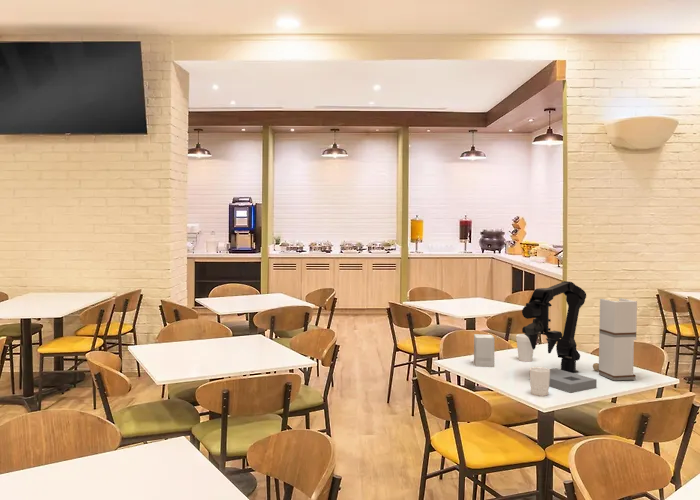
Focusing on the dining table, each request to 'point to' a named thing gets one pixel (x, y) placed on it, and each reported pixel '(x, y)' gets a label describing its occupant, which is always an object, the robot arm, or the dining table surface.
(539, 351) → the dining table surface
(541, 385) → the white cup
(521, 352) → the foam cup
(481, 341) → the supplement box
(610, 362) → the grey striped pillar
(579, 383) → the grey flat block
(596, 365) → the ball
